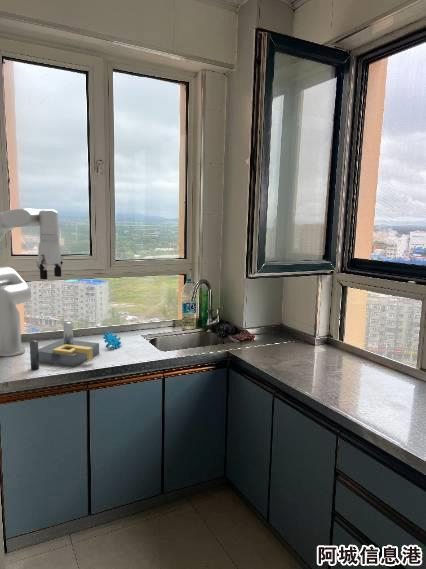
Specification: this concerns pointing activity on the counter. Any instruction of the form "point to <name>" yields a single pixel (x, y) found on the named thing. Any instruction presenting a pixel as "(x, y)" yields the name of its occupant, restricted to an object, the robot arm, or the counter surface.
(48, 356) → the grey fixture base
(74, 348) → the bracket
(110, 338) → the gear
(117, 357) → the counter surface
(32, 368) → the wedge pin
